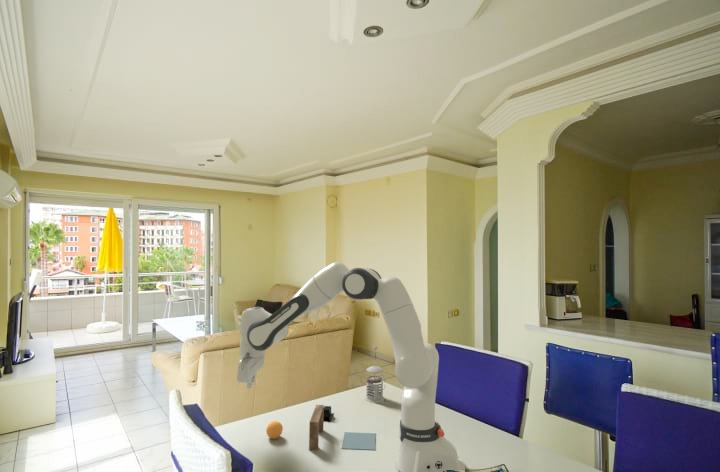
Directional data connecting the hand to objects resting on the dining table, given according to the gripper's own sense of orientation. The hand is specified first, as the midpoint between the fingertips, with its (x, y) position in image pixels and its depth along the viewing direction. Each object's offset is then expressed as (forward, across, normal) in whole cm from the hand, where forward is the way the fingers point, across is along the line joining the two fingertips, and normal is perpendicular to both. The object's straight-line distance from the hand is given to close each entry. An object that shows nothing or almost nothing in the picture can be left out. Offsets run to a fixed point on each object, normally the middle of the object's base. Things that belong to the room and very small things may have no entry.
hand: (250, 386), depth 144 cm
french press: (+19, +40, -48) cm, 65 cm away
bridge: (+19, 0, -26) cm, 32 cm away
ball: (+16, 0, -10) cm, 18 cm away
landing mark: (+19, 0, -42) cm, 46 cm away
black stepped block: (+20, +19, -27) cm, 38 cm away
